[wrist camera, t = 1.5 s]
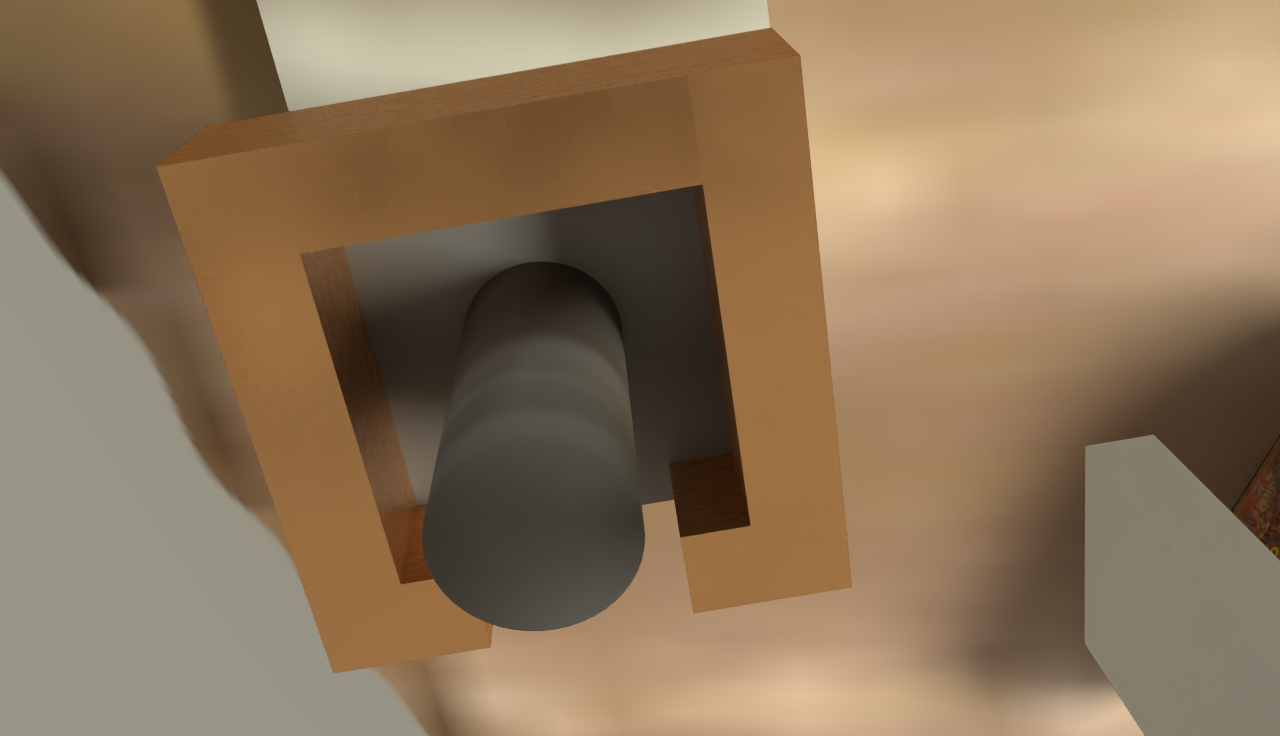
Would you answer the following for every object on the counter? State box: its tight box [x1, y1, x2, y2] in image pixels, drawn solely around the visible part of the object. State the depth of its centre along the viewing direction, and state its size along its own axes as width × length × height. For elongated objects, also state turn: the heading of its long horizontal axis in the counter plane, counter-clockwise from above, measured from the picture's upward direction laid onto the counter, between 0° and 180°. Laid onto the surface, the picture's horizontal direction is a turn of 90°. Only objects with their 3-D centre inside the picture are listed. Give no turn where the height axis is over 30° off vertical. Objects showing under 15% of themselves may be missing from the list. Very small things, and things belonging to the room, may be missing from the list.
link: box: [156, 28, 852, 673], centre depth 19 cm, size 9×9×2 cm
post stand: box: [256, 0, 770, 631], centre depth 23 cm, size 12×12×18 cm
